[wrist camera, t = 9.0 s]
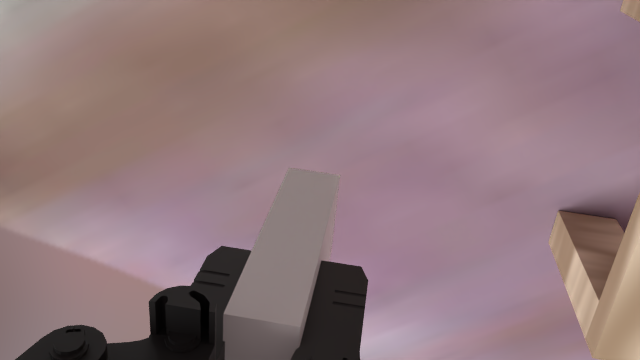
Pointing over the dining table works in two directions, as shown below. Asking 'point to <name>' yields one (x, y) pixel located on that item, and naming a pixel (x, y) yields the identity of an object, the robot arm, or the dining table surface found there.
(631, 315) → the bridge
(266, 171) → the dining table surface
